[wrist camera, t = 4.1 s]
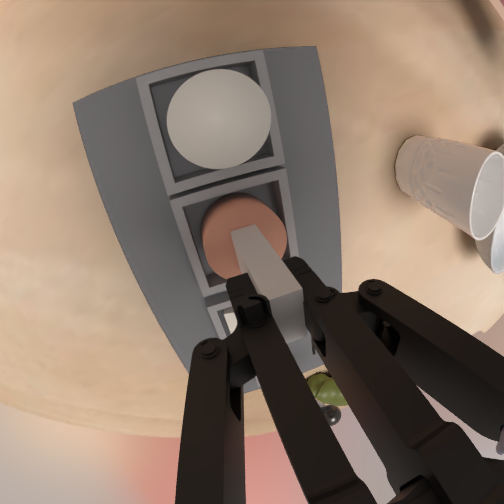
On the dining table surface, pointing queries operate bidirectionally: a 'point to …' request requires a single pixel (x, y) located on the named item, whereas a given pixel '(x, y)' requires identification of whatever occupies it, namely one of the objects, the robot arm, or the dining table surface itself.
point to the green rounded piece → (326, 390)
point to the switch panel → (213, 187)
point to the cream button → (219, 119)
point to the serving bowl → (494, 243)
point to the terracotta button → (232, 218)
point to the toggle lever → (330, 413)
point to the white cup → (454, 181)
